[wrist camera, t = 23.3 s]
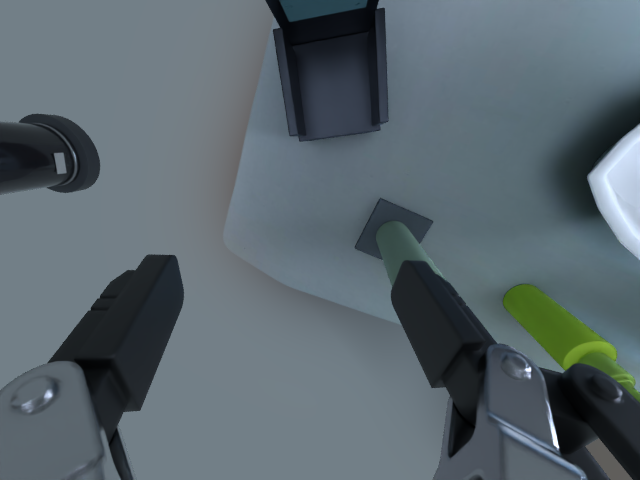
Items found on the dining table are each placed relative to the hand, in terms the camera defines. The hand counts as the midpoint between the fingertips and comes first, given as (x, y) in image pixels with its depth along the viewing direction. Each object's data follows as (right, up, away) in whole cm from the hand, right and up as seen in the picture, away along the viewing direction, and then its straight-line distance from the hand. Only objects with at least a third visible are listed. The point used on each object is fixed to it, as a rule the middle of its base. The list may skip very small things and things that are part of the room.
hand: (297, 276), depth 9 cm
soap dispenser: (+35, -9, +35) cm, 50 cm away
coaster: (+12, +2, +32) cm, 35 cm away
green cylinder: (+12, +2, +32) cm, 34 cm away
